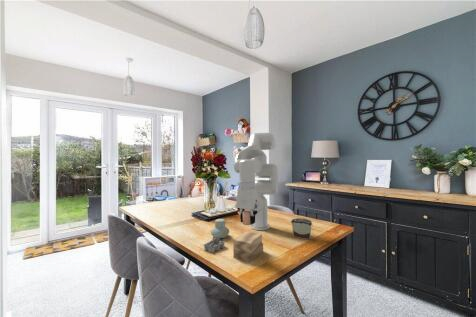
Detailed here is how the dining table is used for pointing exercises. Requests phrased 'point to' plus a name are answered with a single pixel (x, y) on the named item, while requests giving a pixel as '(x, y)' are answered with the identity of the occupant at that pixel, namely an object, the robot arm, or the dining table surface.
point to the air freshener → (220, 229)
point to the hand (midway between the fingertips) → (247, 222)
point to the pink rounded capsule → (246, 217)
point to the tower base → (246, 255)
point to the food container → (301, 228)
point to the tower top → (247, 242)
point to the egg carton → (212, 246)
